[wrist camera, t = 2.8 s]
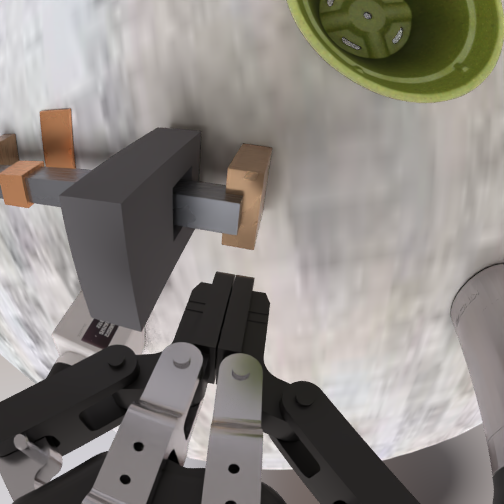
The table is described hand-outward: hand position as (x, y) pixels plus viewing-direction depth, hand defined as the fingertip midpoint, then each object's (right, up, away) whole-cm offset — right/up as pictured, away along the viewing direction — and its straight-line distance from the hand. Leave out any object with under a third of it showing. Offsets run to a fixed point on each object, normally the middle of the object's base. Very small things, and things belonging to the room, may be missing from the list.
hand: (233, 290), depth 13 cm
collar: (-4, +7, +8) cm, 11 cm away
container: (-15, -6, +21) cm, 27 cm away
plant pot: (+8, +16, +2) cm, 18 cm away
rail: (-11, +9, +10) cm, 17 cm away
